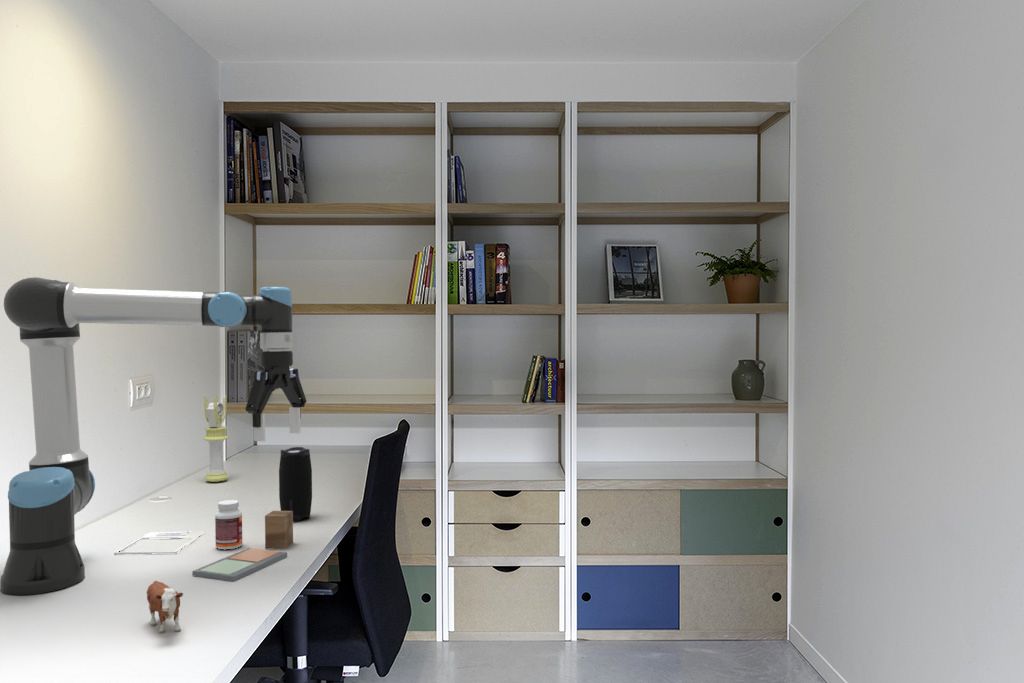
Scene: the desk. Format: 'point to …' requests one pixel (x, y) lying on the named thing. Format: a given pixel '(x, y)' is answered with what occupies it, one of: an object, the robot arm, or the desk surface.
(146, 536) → the photo frame
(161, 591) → the bull figurine
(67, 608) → the desk surface
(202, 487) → the desk surface
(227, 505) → the pill bottle
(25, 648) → the desk surface
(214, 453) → the trophy
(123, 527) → the desk surface
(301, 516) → the portable speaker
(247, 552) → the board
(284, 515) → the walnut block
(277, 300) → the robot arm
